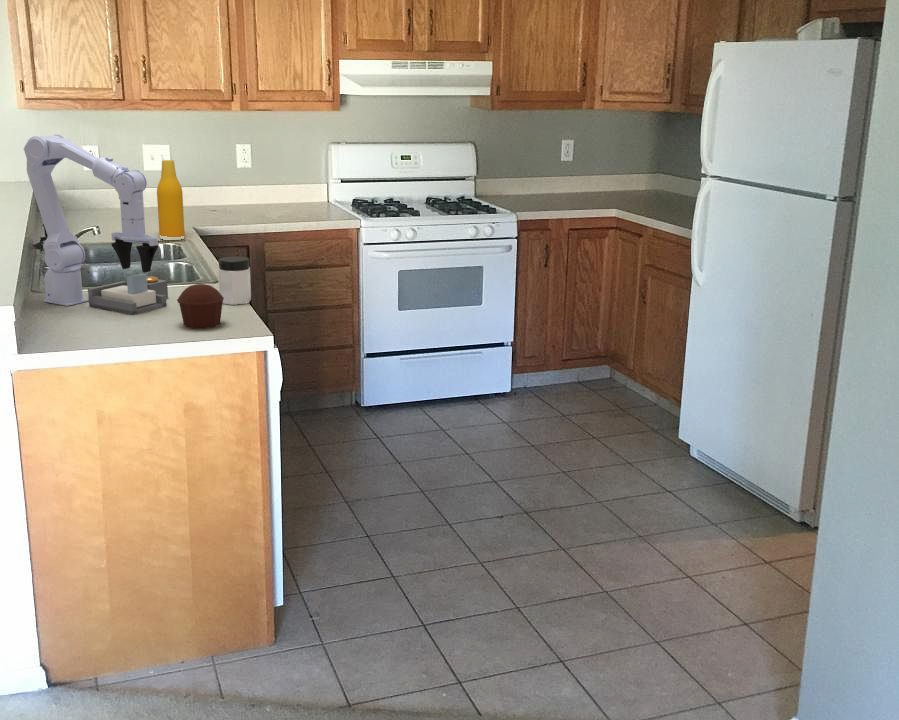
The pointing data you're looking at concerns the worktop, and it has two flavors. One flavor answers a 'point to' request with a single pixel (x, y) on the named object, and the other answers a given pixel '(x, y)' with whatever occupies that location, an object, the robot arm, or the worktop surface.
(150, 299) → the white blue stepped block
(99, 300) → the housing
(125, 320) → the worktop surface
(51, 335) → the worktop surface
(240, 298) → the jar
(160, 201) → the beer bottle
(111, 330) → the worktop surface
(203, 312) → the muffin
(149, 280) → the orange round piece
